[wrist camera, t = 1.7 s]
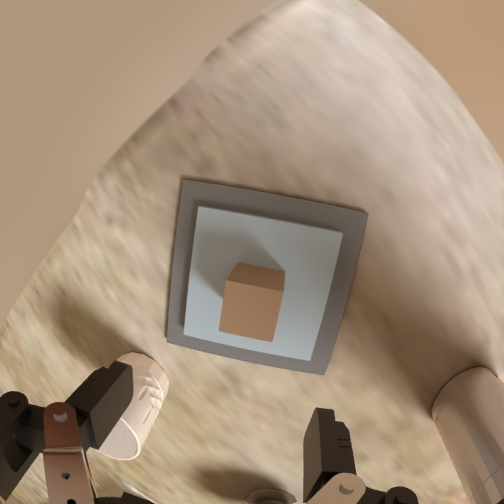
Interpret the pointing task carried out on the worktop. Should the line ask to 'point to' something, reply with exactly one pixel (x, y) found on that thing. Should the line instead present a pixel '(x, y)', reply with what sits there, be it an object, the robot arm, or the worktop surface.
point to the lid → (259, 282)
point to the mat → (276, 208)
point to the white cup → (137, 408)
